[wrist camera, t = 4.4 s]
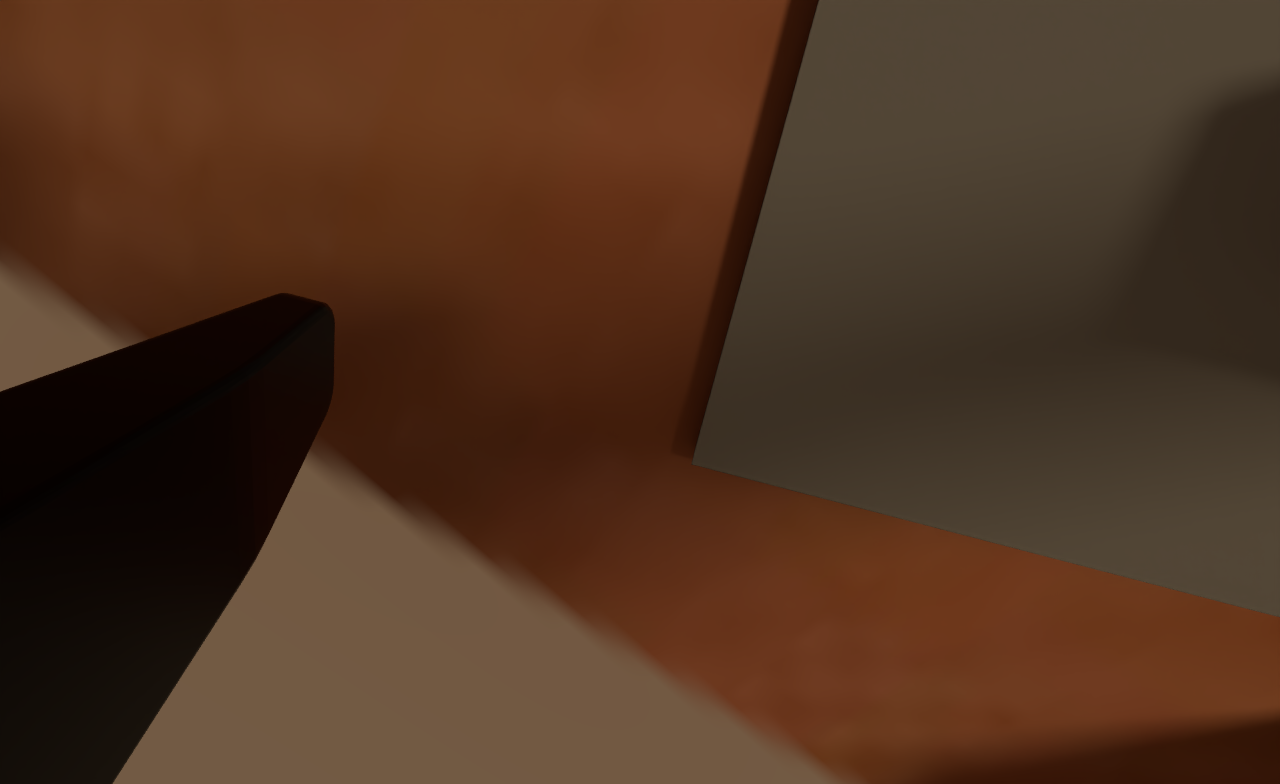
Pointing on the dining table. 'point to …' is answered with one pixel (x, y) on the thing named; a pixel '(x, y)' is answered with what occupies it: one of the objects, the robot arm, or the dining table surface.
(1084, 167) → the flip mat
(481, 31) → the dining table surface
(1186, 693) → the dining table surface
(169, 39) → the dining table surface
